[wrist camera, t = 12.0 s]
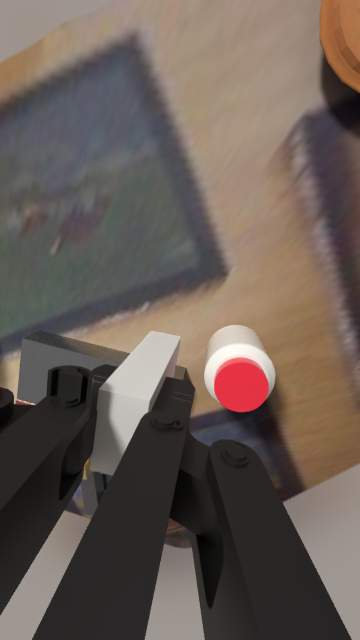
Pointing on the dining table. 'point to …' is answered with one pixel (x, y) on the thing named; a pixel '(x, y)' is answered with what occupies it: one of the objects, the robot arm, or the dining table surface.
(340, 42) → the pie
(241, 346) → the pill bottle
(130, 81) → the dining table surface
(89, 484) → the studded gold disc
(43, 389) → the housing
